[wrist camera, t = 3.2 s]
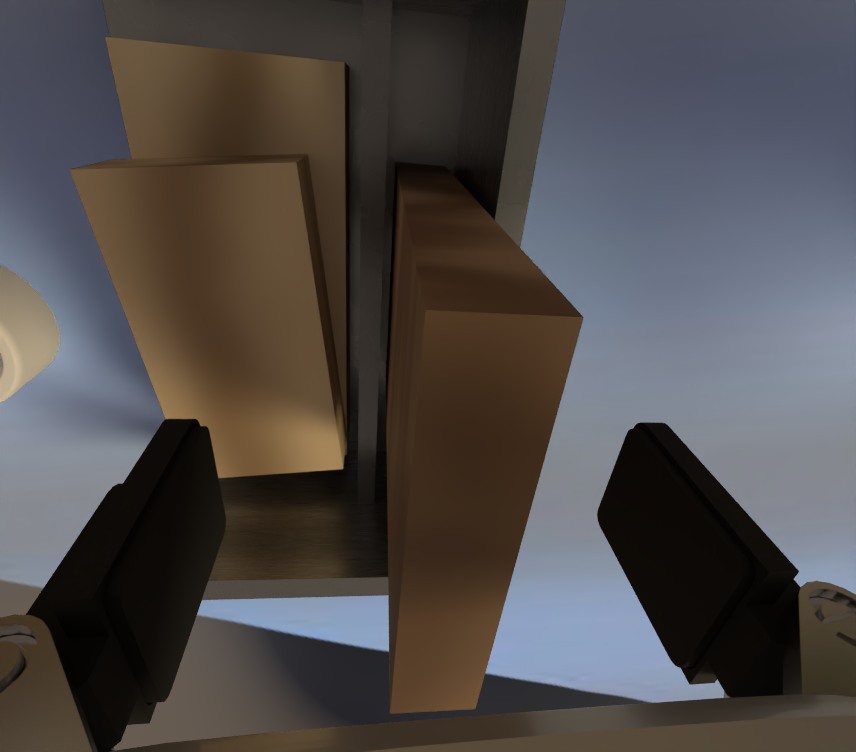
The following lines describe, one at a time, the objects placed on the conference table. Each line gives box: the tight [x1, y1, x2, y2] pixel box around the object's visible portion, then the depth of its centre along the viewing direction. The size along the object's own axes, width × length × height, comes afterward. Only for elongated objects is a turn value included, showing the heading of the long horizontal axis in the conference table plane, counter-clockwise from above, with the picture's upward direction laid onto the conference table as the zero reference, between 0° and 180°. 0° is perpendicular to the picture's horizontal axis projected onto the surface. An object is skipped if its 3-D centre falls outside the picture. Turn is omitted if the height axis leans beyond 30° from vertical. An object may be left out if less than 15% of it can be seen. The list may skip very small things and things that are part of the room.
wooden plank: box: [386, 162, 583, 714], centre depth 15 cm, size 2×10×15 cm, turn 175°
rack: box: [102, 0, 566, 600], centre depth 18 cm, size 13×22×9 cm, turn 175°
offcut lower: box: [105, 37, 350, 455], centre depth 19 cm, size 7×16×2 cm, turn 175°
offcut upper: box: [70, 154, 347, 478], centre depth 18 cm, size 6×12×2 cm, turn 1°
